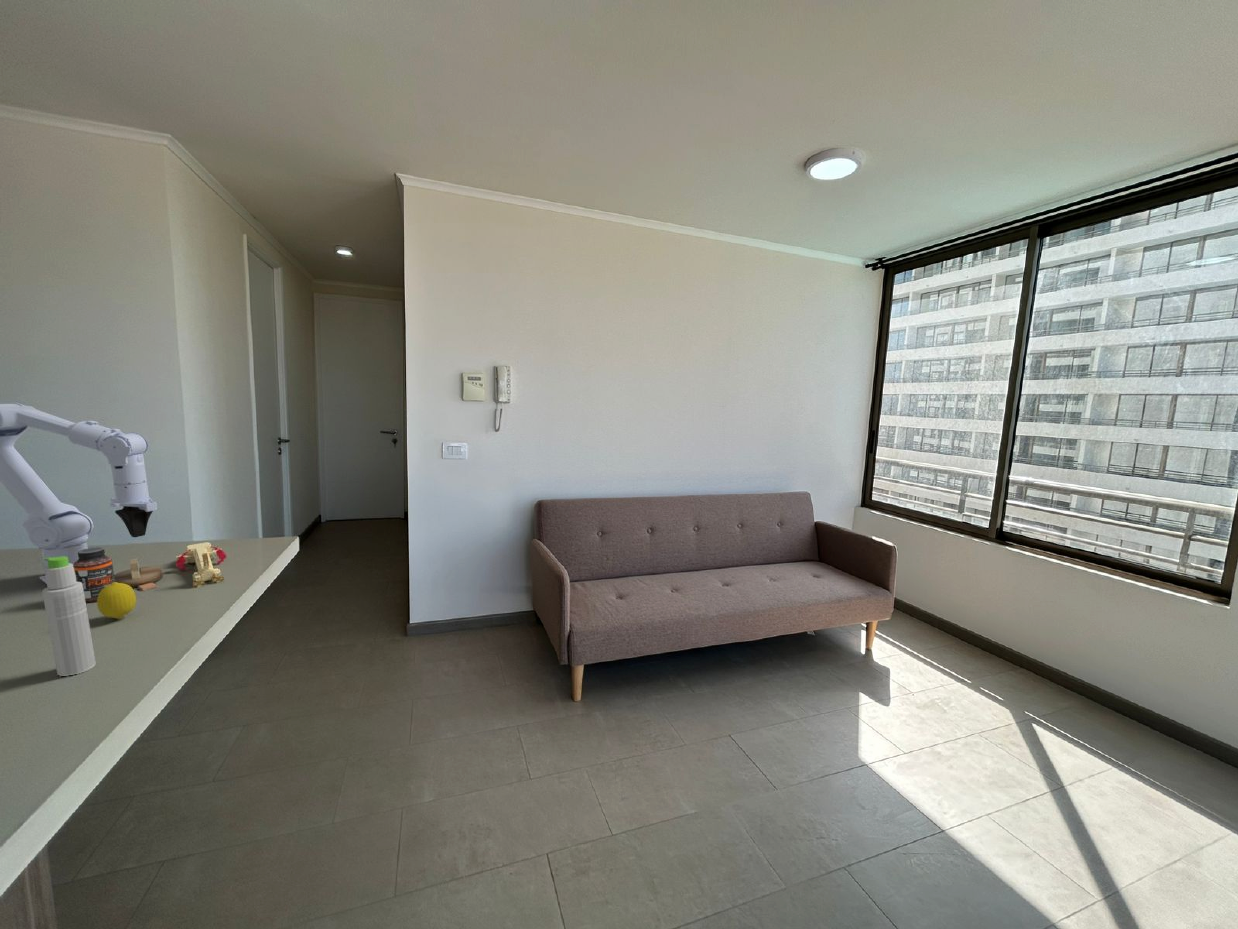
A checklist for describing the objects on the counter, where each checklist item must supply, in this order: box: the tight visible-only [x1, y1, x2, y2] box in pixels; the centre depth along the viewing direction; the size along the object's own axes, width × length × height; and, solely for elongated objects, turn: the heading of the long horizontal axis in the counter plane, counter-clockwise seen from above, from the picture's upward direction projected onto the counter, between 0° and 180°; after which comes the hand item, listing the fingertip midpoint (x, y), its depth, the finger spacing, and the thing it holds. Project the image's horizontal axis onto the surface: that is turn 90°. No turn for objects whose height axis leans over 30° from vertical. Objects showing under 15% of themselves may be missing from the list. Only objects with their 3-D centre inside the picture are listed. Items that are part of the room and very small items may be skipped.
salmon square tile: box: [138, 582, 157, 591], centre depth 114 cm, size 2×2×1 cm
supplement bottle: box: [73, 546, 115, 603], centre depth 107 cm, size 6×6×11 cm
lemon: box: [96, 582, 137, 620], centre depth 98 cm, size 6×6×8 cm
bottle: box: [42, 556, 97, 676], centre depth 80 cm, size 4×4×20 cm
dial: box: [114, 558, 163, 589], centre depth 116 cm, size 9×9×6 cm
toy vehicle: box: [175, 541, 227, 587], centre depth 124 cm, size 10×9×25 cm
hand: (138, 536), depth 119 cm, fingers closed
